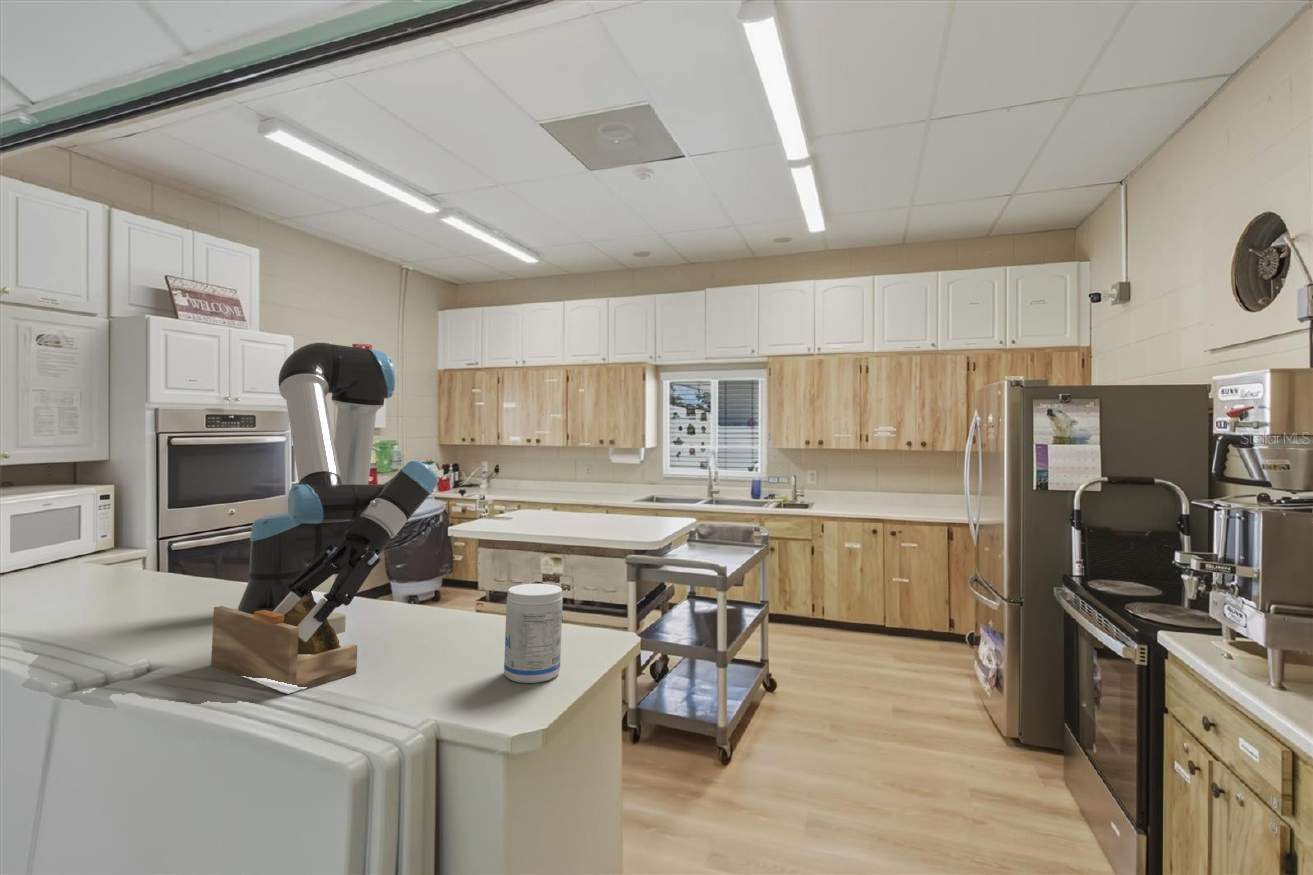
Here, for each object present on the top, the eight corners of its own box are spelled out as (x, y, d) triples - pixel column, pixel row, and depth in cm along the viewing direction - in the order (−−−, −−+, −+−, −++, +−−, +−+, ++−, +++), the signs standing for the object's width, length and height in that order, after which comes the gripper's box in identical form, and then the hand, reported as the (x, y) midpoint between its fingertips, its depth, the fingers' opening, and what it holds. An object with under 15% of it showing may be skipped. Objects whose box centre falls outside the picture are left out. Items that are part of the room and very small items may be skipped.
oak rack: (278, 648, 113) (281, 589, 113) (356, 673, 100) (359, 606, 101) (209, 665, 103) (213, 600, 103) (286, 695, 90) (289, 621, 91)
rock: (245, 641, 97) (274, 643, 92) (278, 593, 103) (307, 593, 97) (301, 667, 104) (331, 671, 98) (329, 621, 109) (359, 622, 104)
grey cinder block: (299, 602, 134) (346, 614, 125) (298, 620, 134) (345, 633, 125) (265, 608, 128) (312, 621, 119) (264, 628, 128) (311, 641, 119)
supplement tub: (499, 669, 104) (502, 584, 104) (552, 662, 108) (555, 581, 108) (509, 688, 95) (512, 596, 96) (566, 681, 99) (569, 592, 99)
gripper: (329, 511, 115) (233, 611, 101) (399, 517, 104) (303, 630, 90) (354, 536, 120) (265, 635, 105) (424, 544, 109) (336, 656, 94)
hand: (283, 632), depth 97 cm, fingers closed on rock, 9 cm apart
